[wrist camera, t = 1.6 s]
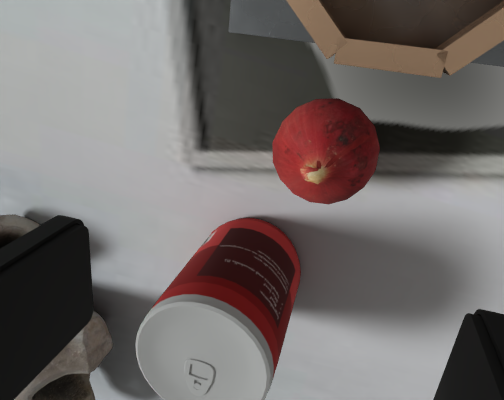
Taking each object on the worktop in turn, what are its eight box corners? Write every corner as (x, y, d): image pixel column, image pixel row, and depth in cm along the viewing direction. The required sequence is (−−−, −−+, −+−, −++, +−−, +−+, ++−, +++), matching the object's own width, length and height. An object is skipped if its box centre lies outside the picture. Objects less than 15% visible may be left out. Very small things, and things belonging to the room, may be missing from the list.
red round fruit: (335, 70, 25) (323, 84, 18) (397, 141, 26) (409, 182, 18) (268, 133, 27) (232, 168, 20) (325, 196, 28) (311, 251, 21)
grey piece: (89, 277, 47) (150, 391, 40) (10, 322, 44) (60, 455, 37) (27, 188, 34) (101, 332, 27) (-92, 242, 31) (-45, 423, 24)
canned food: (213, 304, 34) (150, 415, 24) (197, 214, 31) (117, 298, 21) (306, 308, 32) (279, 433, 22) (297, 212, 29) (261, 304, 19)
